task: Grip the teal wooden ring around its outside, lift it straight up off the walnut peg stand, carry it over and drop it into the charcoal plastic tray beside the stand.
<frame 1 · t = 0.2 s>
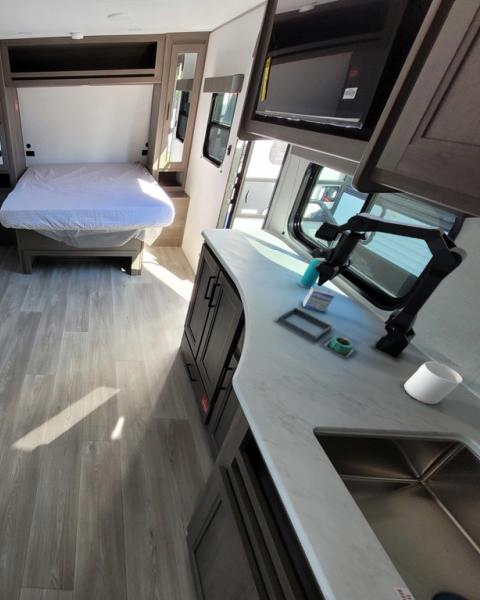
hand: (324, 282, 123), 15 cm above the worktop, tool pointing down, fingers open, 9 cm apart
tray: (302, 326, 122), on the worktop
medicine box: (312, 308, 134), on the worktop
mug: (417, 390, 98), on the worktop
stand: (338, 348, 113), on the worktop
ring: (338, 347, 112), point 1 cm above the worktop, touching stand
beverage can: (305, 286, 149), on the worktop
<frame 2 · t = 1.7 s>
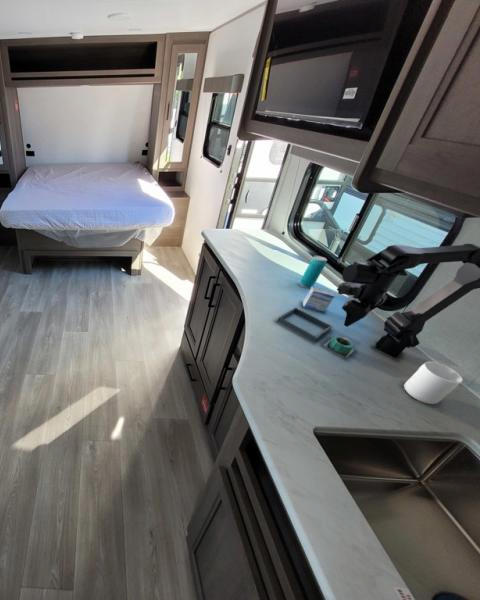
hand: (351, 321, 108), 11 cm above the worktop, tool pointing down, fingers open, 9 cm apart
nothing on the worktop moved.
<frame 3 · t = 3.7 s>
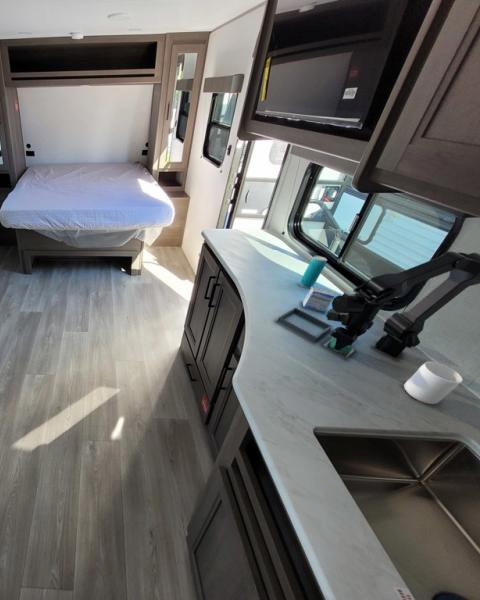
hand: (339, 346, 112), 1 cm above the worktop, tool pointing down, fingers closed on ring, 6 cm apart
ring: (338, 347, 112), point 1 cm above the worktop, touching gripper, stand
everything else where it was.
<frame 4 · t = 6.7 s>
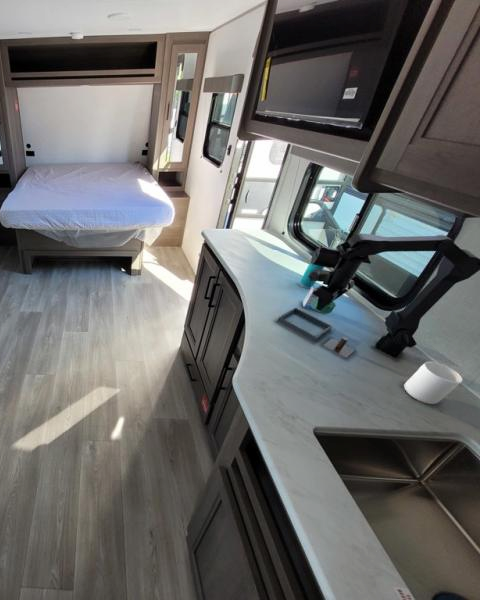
hand: (322, 306, 114), 11 cm above the worktop, tool pointing down, fingers closed on ring, 6 cm apart
ring: (321, 308, 115), point 11 cm above the worktop, touching gripper
everything else where it was.
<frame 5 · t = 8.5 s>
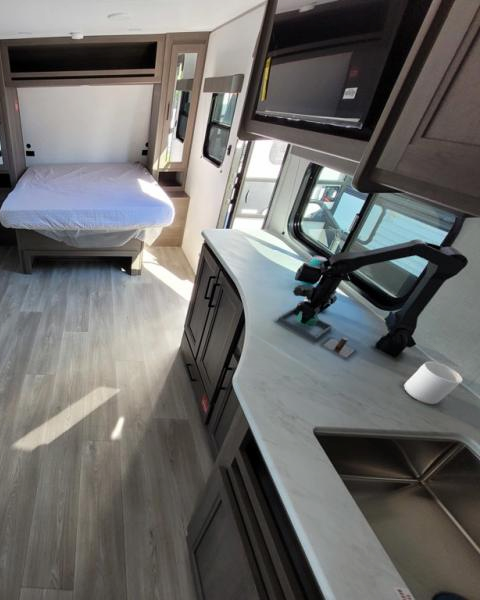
hand: (306, 320, 121), 3 cm above the worktop, tool pointing down, fingers closed on ring, 6 cm apart
ring: (305, 321, 121), point 3 cm above the worktop, touching gripper
everything else where it was.
when the fingers open (1 cm above the worktop, at t = 9.7 s): ring stays where it is, resting on tray.
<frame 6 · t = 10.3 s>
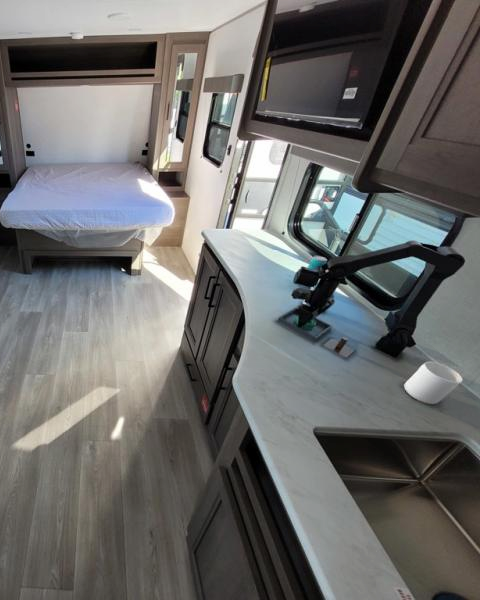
hand: (304, 323, 121), 2 cm above the worktop, tool pointing down, fingers open, 9 cm apart
ring: (303, 325, 122), resting on tray
everything else where it was.
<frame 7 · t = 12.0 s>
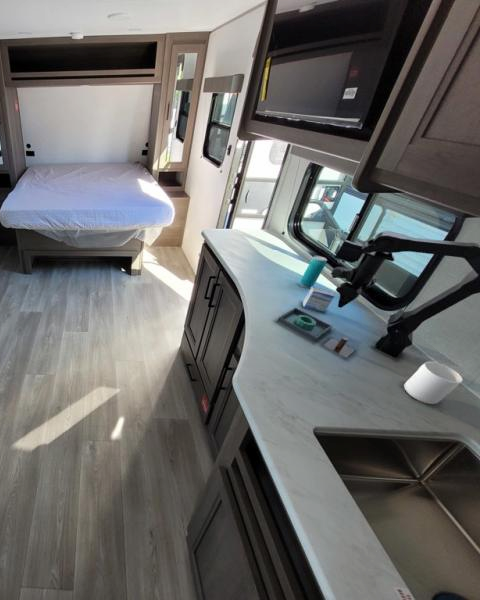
hand: (344, 303, 116), 12 cm above the worktop, tool pointing down, fingers open, 9 cm apart
nothing on the worktop moved.
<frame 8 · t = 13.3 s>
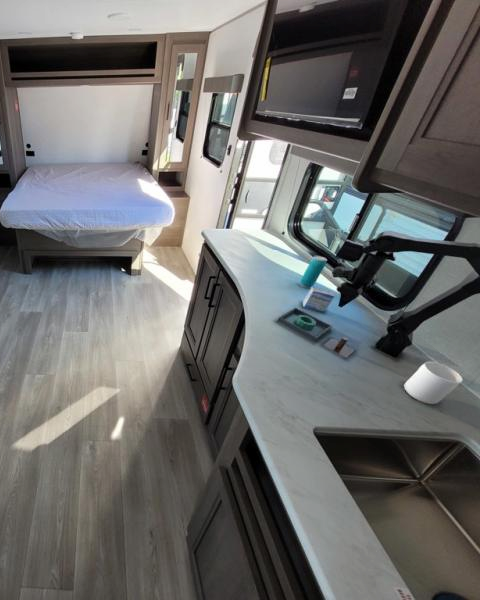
hand: (345, 303, 116), 12 cm above the worktop, tool pointing down, fingers open, 9 cm apart
nothing on the worktop moved.
at the end: ring inside the target area in the tray (0.0 cm from its centre), point 0.5 cm above the tray's base; the gripper is holding nothing; ring tilted 0° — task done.
